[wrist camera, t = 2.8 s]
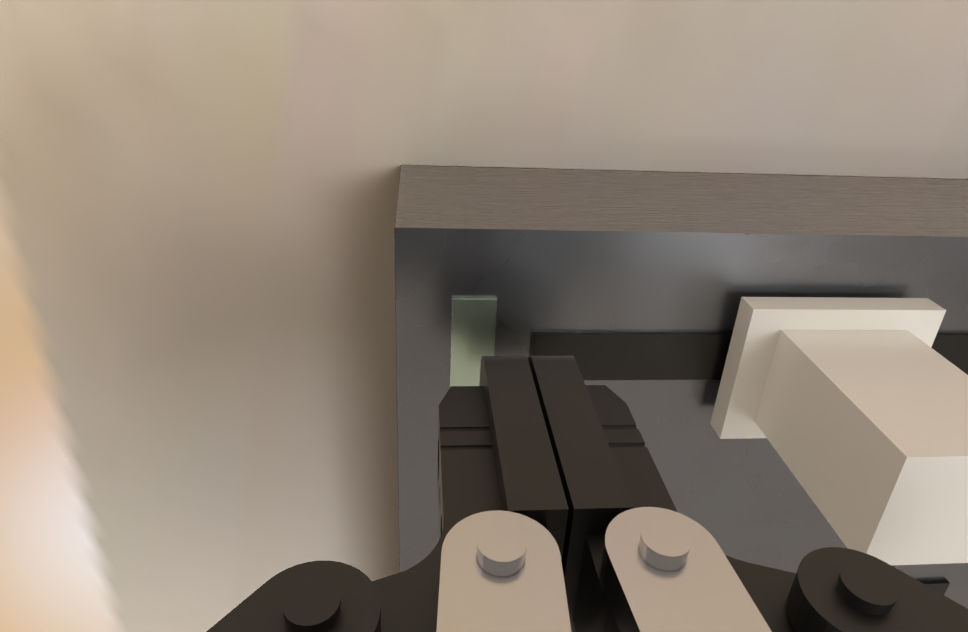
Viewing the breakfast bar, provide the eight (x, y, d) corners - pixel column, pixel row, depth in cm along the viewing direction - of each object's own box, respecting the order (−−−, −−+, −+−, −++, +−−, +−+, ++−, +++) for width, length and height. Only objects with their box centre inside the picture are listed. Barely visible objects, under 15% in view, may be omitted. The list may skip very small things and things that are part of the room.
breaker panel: (1062, 182, 16) (1252, 245, 13) (838, 680, 25) (910, 805, 21) (401, 165, 15) (393, 231, 11) (406, 702, 24) (403, 840, 20)
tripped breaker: (928, 297, 12) (1128, 429, 9) (880, 421, 14) (1038, 578, 10) (741, 297, 12) (873, 433, 9) (710, 423, 13) (813, 587, 10)
